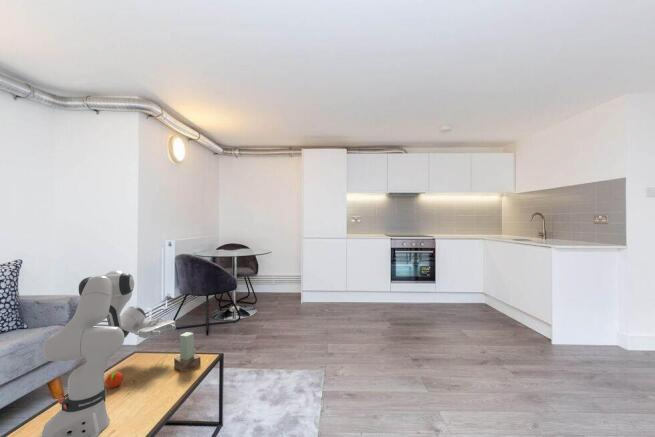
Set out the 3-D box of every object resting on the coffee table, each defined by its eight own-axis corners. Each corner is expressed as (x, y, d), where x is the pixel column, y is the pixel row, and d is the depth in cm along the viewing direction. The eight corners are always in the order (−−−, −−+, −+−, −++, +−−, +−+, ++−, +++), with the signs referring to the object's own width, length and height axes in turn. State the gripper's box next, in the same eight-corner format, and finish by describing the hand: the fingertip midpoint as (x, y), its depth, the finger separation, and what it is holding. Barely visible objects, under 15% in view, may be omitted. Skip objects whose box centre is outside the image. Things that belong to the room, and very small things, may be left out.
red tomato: (120, 390, 150) (119, 375, 150) (103, 392, 148) (102, 377, 148) (125, 381, 157) (124, 367, 157) (109, 384, 155) (108, 369, 155)
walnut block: (182, 371, 166) (182, 363, 166) (174, 366, 173) (174, 358, 173) (200, 364, 174) (200, 356, 174) (192, 359, 180) (192, 351, 180)
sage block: (187, 360, 170) (186, 336, 170) (180, 358, 172) (179, 335, 172) (194, 356, 175) (193, 333, 175) (187, 354, 177) (186, 332, 176)
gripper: (132, 327, 171) (151, 330, 166) (164, 317, 190) (182, 319, 185) (133, 339, 171) (151, 342, 166) (165, 327, 190) (182, 330, 185)
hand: (167, 330), depth 176 cm, fingers open, 8 cm apart
